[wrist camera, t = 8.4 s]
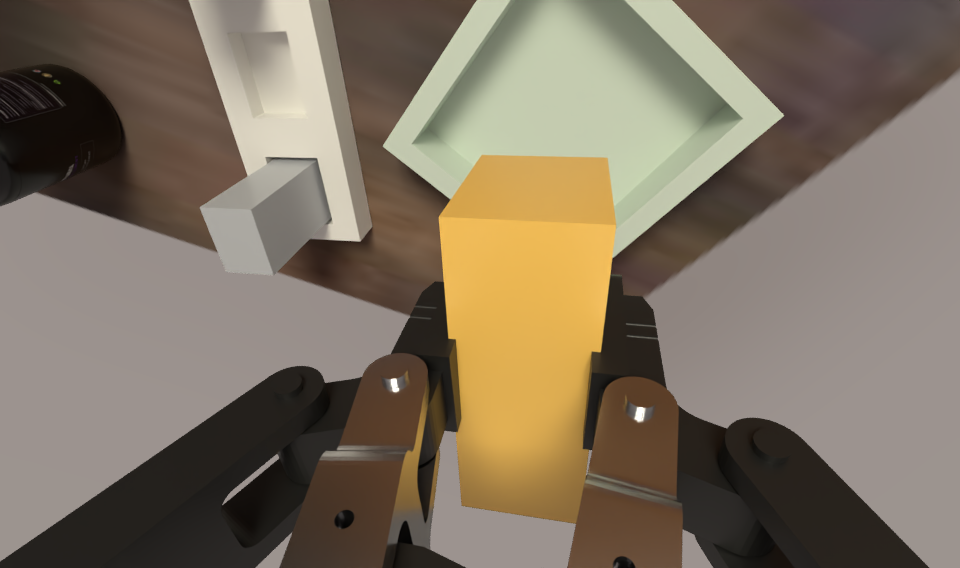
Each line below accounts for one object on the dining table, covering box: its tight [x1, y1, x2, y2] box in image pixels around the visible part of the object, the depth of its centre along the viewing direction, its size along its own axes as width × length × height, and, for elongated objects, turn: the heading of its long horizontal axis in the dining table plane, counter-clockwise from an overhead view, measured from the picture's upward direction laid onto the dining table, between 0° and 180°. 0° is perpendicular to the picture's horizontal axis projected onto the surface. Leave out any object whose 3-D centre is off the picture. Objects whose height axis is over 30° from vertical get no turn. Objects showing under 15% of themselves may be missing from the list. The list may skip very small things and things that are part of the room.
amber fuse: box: [439, 155, 616, 524], centre depth 12 cm, size 4×3×8 cm
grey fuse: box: [200, 157, 331, 275], centre depth 29 cm, size 4×3×8 cm
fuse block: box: [189, 0, 372, 242], centre depth 28 cm, size 21×7×2 cm, turn 3°
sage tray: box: [383, 0, 784, 258], centre depth 26 cm, size 14×14×4 cm
